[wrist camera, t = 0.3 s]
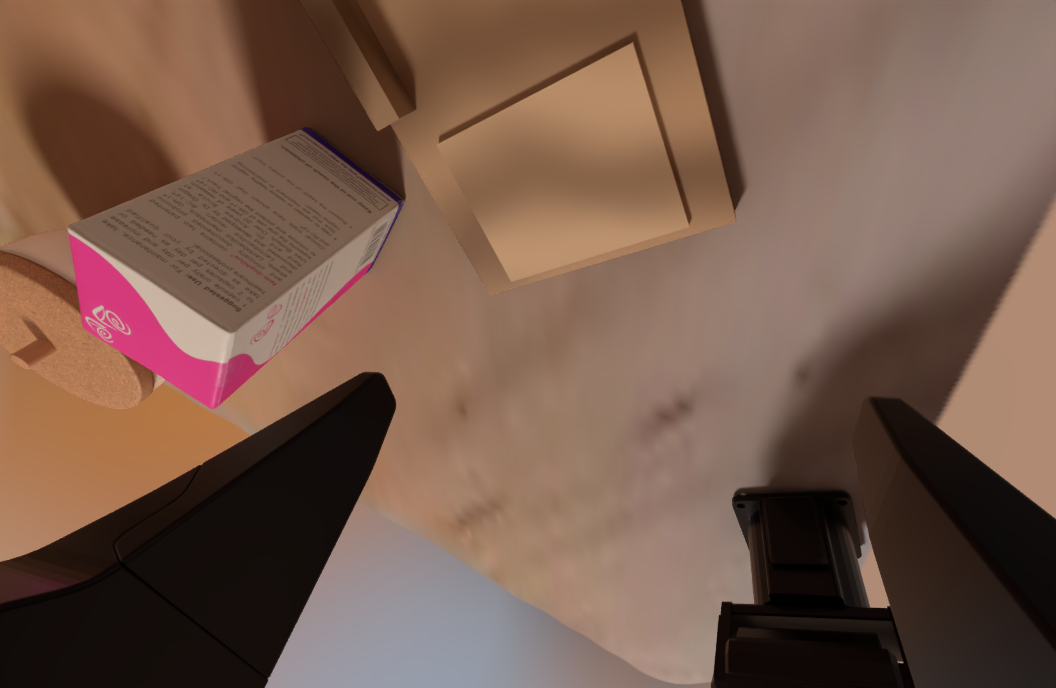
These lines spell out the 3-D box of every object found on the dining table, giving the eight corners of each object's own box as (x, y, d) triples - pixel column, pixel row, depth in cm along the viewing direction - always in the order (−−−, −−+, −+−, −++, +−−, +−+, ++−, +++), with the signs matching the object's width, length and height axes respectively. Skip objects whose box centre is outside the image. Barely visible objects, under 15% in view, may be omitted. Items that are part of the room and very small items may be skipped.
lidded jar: (250, 274, 30) (114, 370, 23) (225, 359, 37) (115, 453, 30) (87, 162, 28) (-119, 231, 21) (93, 275, 34) (-59, 355, 28)
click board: (734, 211, 19) (740, 250, 17) (495, 285, 25) (472, 323, 22) (559, -487, 11) (516, -629, 8) (257, -135, 16) (175, -152, 14)
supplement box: (303, 120, 22) (57, 221, 14) (408, 199, 23) (241, 338, 15) (278, 209, 26) (73, 331, 17) (370, 273, 27) (220, 418, 18)
